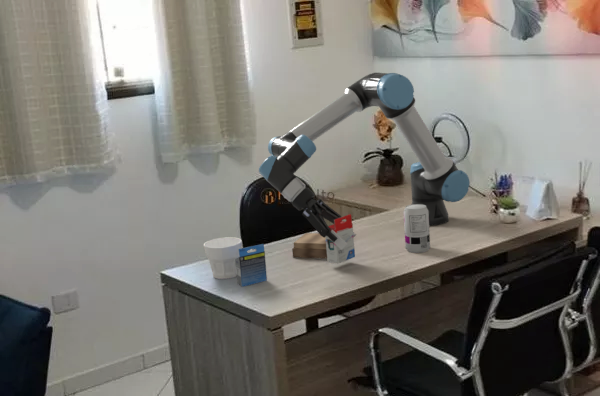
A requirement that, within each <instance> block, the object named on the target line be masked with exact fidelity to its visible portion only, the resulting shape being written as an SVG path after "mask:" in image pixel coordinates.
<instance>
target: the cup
mask: <svg viewBox="0 0 600 396" xmlns="http://www.w3.org/2000/svg"><path fill="white" fill-rule="evenodd" d="M203 248H204V252H205V256H206V258H207V259H208V261H209V262H208V263H209V265H210V269H211V271H212V276H213V279H217V280H227V279H232V278H237V276H236V265H235V259H236V258H238V257H239V250H238V249H241V248H243V241H242V238H239V237H234V236H227V237H226V236H223V237H217V238H212V239H209V240H207V241H205V242H204V243H203Z"/></svg>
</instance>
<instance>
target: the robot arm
mask: <svg viewBox="0 0 600 396" xmlns="http://www.w3.org/2000/svg"><path fill="white" fill-rule="evenodd" d="M412 83H413V82H412V81H410V79H409V78H408V77H406V76H405V75H403V74H399V73H396V72H388V73H387V72H372V73H369V74H367V75H365V76H363V77H362V78H360V79H358V80H357V81H355V82H354V83H353V84H351V85H350V86H348V87H346V88H345V89H344V91H343V92H344V93H343V94H341V95H340V96H338V97H337V98H336V99H335V100H333V101H332V102H330V103H328V104H327V105H325V106H324V107H323V108H321V109H320V110H318V111H317V112H315V113H314V114H313V115H312V114H311V116H310V117H308V118H306V119H305V120H304V121H302V122H301V123H299V124H298V125H296V126H295V127H293V128H292V129H290V130H289V131H287V132H285V133H284V134H282V136H281V135H279V136H274V137H272V138H271V139H270V140H269V141H268V145H267V151H268V154H270V155H269V156H268V157H267V158H266V159H264V161H263V162H262V163H261V165H260V166H259V167H258V172H259V174H260V175H261V176H262V177H263V178H264V179H265V180H266V182H268V183H269V184H270V185H271V186H272V187H273V188H274V189H275V190H277V191H278V192H279V194H281V195H282V196H283V198H284V199H286V200H287V201H288V202H291V204H292V206H293V207H294V208H295V209H296V210H298V211H302V210H303V212H302V214H301V215H302V216H303V217H304V218H305V219H306V220H307V221H308V222H309V223H310V224H311V226H312V227H313V228H314V229H315V230H316V231H317V233H319V234H320V235H321V236H322V237H324V238H325V237H326V236H327V237H328V238H329V239H330V240H331V241H332V242H333V243H334V244H336V245H337V246H338V247H339V248H340V249H341V250H342V249H343V248H344V247H345V246H346V245H347V243H346V242H345V241H344V240H343V239H342V238H341V237H340V236H339V235H338V234H337V233H336V232H334V231H333V230H330V228H329V227H328V226H329V225H328V224H327V222H326V221H328V222H330V223H331V224H332V225H333V224H334V220H335V219H338V218H340V217H343V216H342V215H341V214H339V213H338V212H337V211H335V210H334V209H333V208H331V207H330V206H329V205H328V204H327V203H325V202H324V201H323V200H322V199H321V198H319V199H318V200H316V199H314V197H315V192H314V191H312V190H311V189H310V188H309V187H307V186H306V184H305V183H304V182H303V181H302V180H301V179H300V178H298V177H297V176H296V175H295V173H297V171H298V170H300V168H301V167H302V166H303V165H304V164H305V163H306V162H307V161H308V160H309V159H311V157H312V156H313V155H314V154H315V153H316V151H317V146H316V144H315V143H314V141H315V140H317V139H318V138H320V137H321V136H322V135H324V134H325V133H327V132H328V131H330V130H332V128H334V127H336V126H337V125H339V124H340V123H342V122H343V121H345V120H346V119H347V118H348V117H350V116H352V115H354V114H355V113H356V112H357V113H361V112H363V111H364V110H366V109H368V108H371V107H378V108H380V110H381V112H382V113H383V115H384V116H385V118H386V119H387V120H388V119H389V120H393V122H394V124H395V125H396V127H397V129H398V130H399V132H400V133H401V135H402V136H403V139H405V141H406V143H407V145H408V146H409V148H410V149H411V151H412V153H413V154H414V156H415V157H416V158H417V160H418V161H417V162H413V163H412V164H411V165H410V171H409V173H410V188H411V204H410V205H412V204H423V205H426V207H427V209H428V213H429V227H430V226H437V225H442V224H445V223H447V222H449V220H450V219H449V213H448V210H447V207H446V204H445V202H448V203H450V202H451V203H455V202H460V201H461V200H463V199H464V197H466V196H467V193H468V192H469V187H470V183H471V182H470V177H469V176H468V174H467V173H466V172H465V171H463V170H461V169H459V168H457V166H456V164H455V162H454V161H453V159H452V158H450V157H446V156H445V154H444V153H443V151H442V149H441V148H440V146H439V145H438V143H437V141H436V139H435V137H433V134H432V133H431V131H430V130H429V128H428V127H427V125H426V124H425V122H424V120H423V118H422V117H421V116H420V114H419V112H418V111H417V109H416V107H415V105H416V98H415V95H414V93H415V90H414V86H413V84H412ZM444 201H445V202H444ZM325 220H326V221H325ZM342 221H344V220H343V219H342ZM340 222H341V221H340ZM330 231H331V232H330ZM356 236H357V234H356V233H355V232H354V231H353V237H354V238H355V237H356Z"/></svg>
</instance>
